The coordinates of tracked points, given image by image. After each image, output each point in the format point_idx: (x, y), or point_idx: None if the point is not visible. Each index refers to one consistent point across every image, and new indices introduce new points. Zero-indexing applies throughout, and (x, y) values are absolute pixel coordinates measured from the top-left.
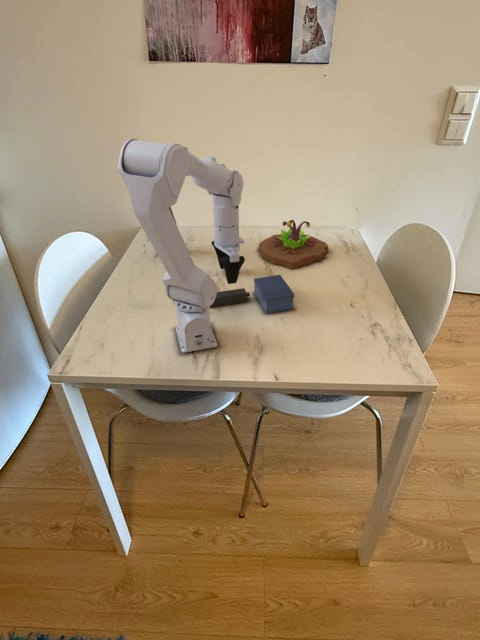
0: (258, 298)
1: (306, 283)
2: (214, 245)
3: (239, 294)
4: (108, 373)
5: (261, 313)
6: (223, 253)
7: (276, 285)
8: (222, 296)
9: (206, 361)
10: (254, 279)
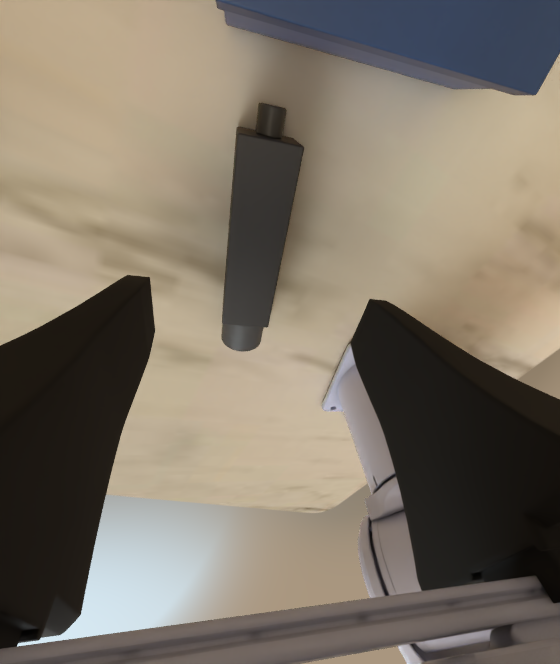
0: (321, 49)
1: None
2: (68, 615)
3: (293, 199)
4: None
5: (432, 117)
6: (98, 429)
7: None
8: (273, 289)
9: None
10: (235, 4)
